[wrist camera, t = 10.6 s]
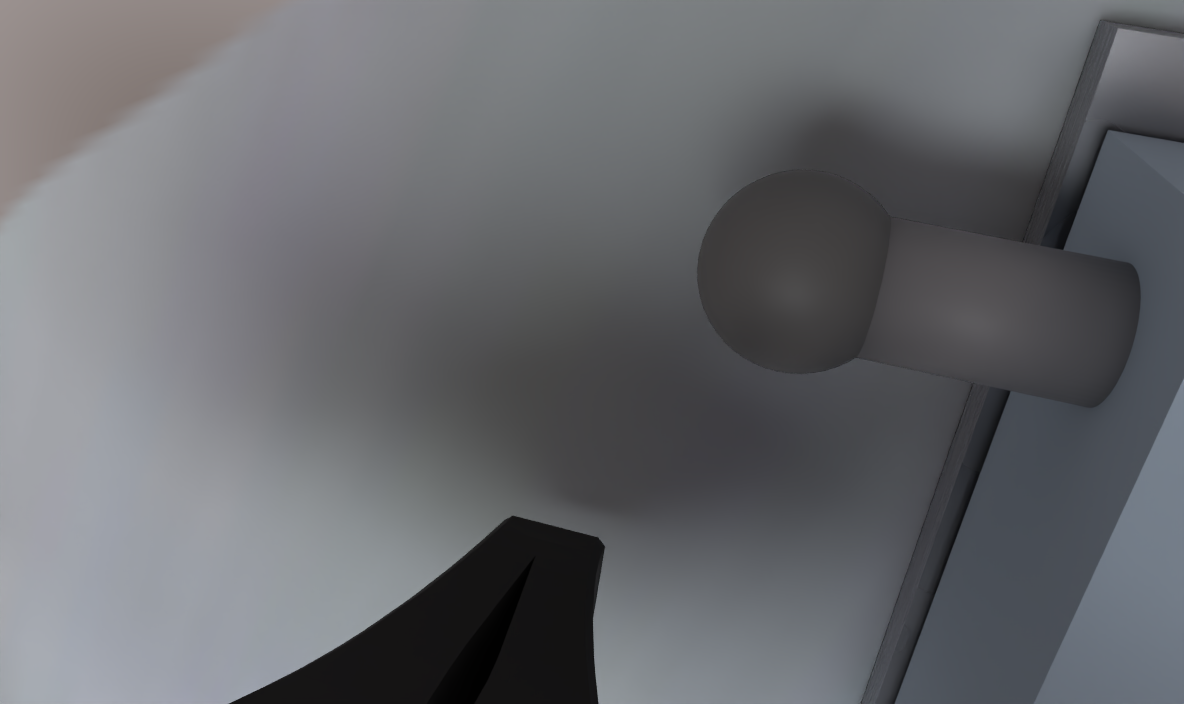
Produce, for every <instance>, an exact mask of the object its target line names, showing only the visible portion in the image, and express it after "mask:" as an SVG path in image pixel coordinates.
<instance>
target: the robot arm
mask: <svg viewBox="0 0 1184 704" xmlns="http://www.w3.org/2000/svg"><path fill="white" fill-rule="evenodd" d="M604 549H605V546H604V545H603V543H602V542H601V540H600V539H599V538H598V537H594V536H590V535H586V534H583V533H579V532H575V531H571V530H567V529H563V528H559V527H555V526H551V525H547V524H543V523H539V522H535V521H532V520H528V519H524V518H520V517H516V516H511V517H510V518H508V519H506V520H504V521H503V522H502V523H501V524H500V525H499V526H498V527H496V528H495V529H494V530H493V531H492V532H491V533H490V534H489V535H488V536H486V537H485V538H484V539H483V540H482V541H481V542H480V543H479V544H477V545H476V546H475V547H474V548H473V549H472V550H470V551H469V552H468V553H467V554H466V555H465V556H463V557H462V558H461V559H460V560H459V561H457V562H456V563H455V564H454V565H453V566H451V567H450V568H449V569H448V570H446V571H445V572H444V573H443V574H441V575H440V576H439V577H437V578H436V579H435V580H434V581H432V582H431V583H430V584H428V585H427V586H426V587H425V588H423V589H422V590H421V591H419V592H418V593H417V594H416V595H414V596H413V597H412V598H410V599H409V600H407V601H406V602H405V603H403V604H402V605H400V606H399V607H397V608H396V609H395V610H393V611H392V612H390V613H389V614H387V615H386V616H384V617H383V618H382V619H380V620H379V621H377V622H376V623H374V624H373V625H371V626H370V627H368V628H367V629H366V630H364V631H363V632H361V633H359V634H358V635H356V636H355V637H353V638H352V639H350V640H348V641H347V642H345V643H344V644H342V645H340V646H339V647H337V648H335V649H334V650H332V651H330V652H329V653H327V654H325V655H323V656H322V657H320V658H318V659H316V660H315V661H313V662H311V663H309V664H308V665H306V666H304V667H302V668H300V669H299V670H297V671H295V672H293V673H291V674H289V675H287V676H285V677H283V678H281V679H279V680H277V681H275V682H273V683H271V684H269V685H267V686H265V687H263V688H261V689H259V690H257V691H255V692H253V693H250V694H248V695H246V696H244V697H242V698H240V699H238V700H236V701H234V702H231V703H229V704H598V695H597V686H596V677H595V664H594V642H593V615H594V609H595V603H596V597H597V591H598V585H599V579H600V573H601V567H602V561H603V555H604Z"/></svg>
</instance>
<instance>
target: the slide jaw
mask: <svg viewBox="0 0 1184 704" xmlns="http://www.w3.org/2000/svg"><path fill="white" fill-rule="evenodd" d="M697 280H698V287H699V294H700V298H701V302H702V305H703V308H704V311H705V313H706V315H707V317H708V319H709V321H710V323H711V324H712V326H713V328H714V329H715V331H716V332H717V333H718V335H719V336H720V337H721V338H722V339H723V341H724V342H725V343H726V344H727V345H728V346H729V347H730V348H731V349H733V350H734V351H735V352H736V353H738V354H739V355H741V356H742V357H743V358H745V359H747V360H749V361H751V362H752V363H754V364H757V365H759V366H762V367H764V368H767V369H771V370H774V371H779V372H785V373H797V374H804V373H815V372H820V371H826V370H829V369H832V368H835V367H838V366H840V365H843V364H845V363H847V362H849V361H851V360H852V359H854V358H861V359H865V360H870V361H875V362H879V363H884V364H888V365H893V366H898V367H902V368H907V369H912V370H916V371H921V372H925V373H930V374H935V375H939V376H944V377H949V378H953V379H958V380H963V381H967V382H972V383H976V384H981V385H986V386H990V387H995V388H1000V389H1004V390H1009V391H1011V392H1010V395H1009V397H1008V400H1007V403H1006V405H1005V408H1004V411H1003V413H1002V416H1001V419H1000V422H999V424H998V427H997V430H996V432H995V435H994V438H993V440H992V443H991V446H990V448H989V451H988V454H987V457H986V459H985V462H984V465H983V467H982V470H981V473H980V475H979V478H978V481H977V483H976V486H975V489H974V492H973V494H972V497H971V500H970V502H969V505H968V508H967V510H966V513H965V516H964V518H963V521H962V524H961V526H960V529H959V532H958V535H957V537H956V540H955V543H954V545H953V548H952V551H951V553H950V556H949V559H948V561H947V564H946V567H945V570H944V572H943V575H942V578H941V580H940V583H939V586H938V588H937V591H936V594H935V596H934V599H933V602H932V605H931V607H930V610H929V613H928V615H927V618H926V621H925V623H924V626H923V629H922V631H921V634H920V637H919V639H918V642H917V645H916V648H915V650H914V653H913V656H912V658H911V661H910V664H909V666H908V669H907V672H906V674H905V677H904V680H903V683H902V685H901V688H900V691H899V693H898V696H897V699H896V701H895V704H1184V143H1181V142H1175V141H1169V140H1163V139H1158V138H1152V137H1146V136H1140V135H1134V134H1129V133H1123V132H1117V131H1111V130H1108V131H1107V134H1106V136H1105V139H1104V142H1103V144H1102V147H1101V150H1100V152H1099V155H1098V158H1097V161H1096V163H1095V166H1094V169H1093V171H1092V174H1091V177H1090V179H1089V182H1088V185H1087V187H1086V190H1085V193H1084V196H1083V198H1082V201H1081V204H1080V206H1079V209H1078V212H1077V214H1076V217H1075V220H1074V222H1073V225H1072V228H1071V231H1070V233H1069V236H1068V239H1067V241H1066V244H1065V247H1064V249H1063V250H1060V249H1055V248H1050V247H1045V246H1040V245H1034V244H1029V243H1024V242H1019V241H1014V240H1008V239H1003V238H998V237H993V236H988V235H982V234H977V233H972V232H967V231H962V230H957V229H951V228H946V227H941V226H936V225H931V224H925V223H920V222H915V221H910V220H905V219H899V218H894V217H890V216H889V215H888V213H887V212H886V211H885V209H884V208H883V207H882V205H881V204H880V203H879V202H878V201H877V200H876V199H875V198H874V197H873V196H872V195H870V194H869V193H868V192H866V191H865V190H864V189H862V188H861V187H860V186H858V185H856V184H854V183H853V182H851V181H849V180H847V179H845V178H842V177H840V176H837V175H834V174H830V173H826V172H823V171H814V170H792V171H784V172H780V173H776V174H772V175H769V176H766V177H764V178H762V179H759V180H757V181H755V182H753V183H751V184H749V185H748V186H746V187H744V188H743V189H741V190H740V191H739V192H737V193H736V194H735V195H733V196H732V197H731V198H730V199H729V200H728V201H727V202H726V203H725V204H724V205H723V207H722V208H721V209H720V211H719V212H718V213H717V214H716V216H715V217H714V219H713V221H712V222H711V224H710V226H709V227H708V229H707V232H706V234H705V236H704V239H703V242H702V245H701V249H700V253H699V259H698V267H697Z"/></svg>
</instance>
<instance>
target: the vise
mask: <svg viewBox="0 0 1184 704" xmlns="http://www.w3.org/2000/svg"><path fill="white" fill-rule="evenodd" d="M1108 130H1111V131H1117V132H1123V133H1129V134H1134V135H1140V136H1146V137H1152V138H1158V139H1163V140H1169V141H1175V142H1181V143H1184V33H1178V32H1172V31H1165V30H1159V29H1153V28H1146V27H1140V26H1133V25H1127V24H1121V23H1114V22H1108V21H1102V20H1100V23H1099V26H1098V29H1097V32H1096V35H1095V37H1094V40H1093V43H1092V46H1091V49H1090V52H1089V54H1088V57H1087V60H1086V63H1085V66H1084V69H1083V72H1082V74H1081V77H1080V80H1079V83H1078V86H1077V89H1076V92H1075V94H1074V97H1073V100H1072V103H1071V106H1070V109H1069V112H1068V114H1067V117H1066V120H1065V123H1064V126H1063V129H1062V132H1061V134H1060V137H1059V140H1058V143H1057V146H1056V149H1055V152H1054V154H1053V157H1052V160H1051V163H1050V166H1049V169H1048V172H1047V174H1046V177H1045V180H1044V183H1043V186H1042V189H1041V192H1040V194H1039V197H1038V200H1037V203H1036V206H1035V209H1034V212H1033V214H1032V217H1031V220H1030V223H1029V226H1028V229H1027V232H1026V234H1025V237H1024V240H1023V242H1024V243H1029V244H1034V245H1040V246H1045V247H1050V248H1055V249H1060V250H1063V249H1064V247H1065V244H1066V241H1067V239H1068V236H1069V233H1070V231H1071V228H1072V225H1073V222H1074V220H1075V217H1076V214H1077V212H1078V209H1079V206H1080V204H1081V201H1082V198H1083V196H1084V193H1085V190H1086V187H1087V185H1088V182H1089V179H1090V177H1091V174H1092V171H1093V169H1094V166H1095V163H1096V161H1097V158H1098V155H1099V152H1100V150H1101V147H1102V144H1103V142H1104V139H1105V136H1106V134H1107V131H1108ZM1010 392H1011V391H1009V390H1004V389H1000V388H995V387H990V386H986V385H981V384H976V383H973V386H972V389H971V391H970V394H969V397H968V400H967V403H966V406H965V409H964V411H963V414H962V417H961V420H960V423H959V426H958V429H957V431H956V434H955V437H954V440H953V443H952V446H951V449H950V451H949V454H948V457H947V460H946V463H945V466H944V469H943V471H942V474H941V477H940V480H939V483H938V486H937V489H936V491H935V494H934V497H933V500H932V503H931V506H930V509H929V511H928V514H927V517H926V520H925V523H924V526H923V529H922V531H921V534H920V537H919V540H918V543H917V546H916V549H915V551H914V554H913V557H912V560H911V563H910V566H909V569H908V571H907V574H906V577H905V580H904V583H903V586H902V589H901V591H900V594H899V597H898V600H897V603H896V606H895V608H894V611H893V614H892V617H891V620H890V623H889V626H888V628H887V631H886V634H885V637H884V640H883V643H882V646H881V648H880V651H879V654H878V657H877V660H876V663H875V666H874V668H873V671H872V674H871V677H870V680H869V683H868V686H867V688H866V691H865V694H864V697H863V700H862V703H861V704H895V701H896V699H897V696H898V693H899V691H900V688H901V685H902V683H903V680H904V677H905V674H906V672H907V669H908V666H909V664H910V661H911V658H912V656H913V653H914V650H915V648H916V645H917V642H918V639H919V637H920V634H921V631H922V629H923V626H924V623H925V621H926V618H927V615H928V613H929V610H930V607H931V605H932V602H933V599H934V596H935V594H936V591H937V588H938V586H939V583H940V580H941V578H942V575H943V572H944V570H945V567H946V564H947V561H948V559H949V556H950V553H951V551H952V548H953V545H954V543H955V540H956V537H957V535H958V532H959V529H960V526H961V524H962V521H963V518H964V516H965V513H966V510H967V508H968V505H969V502H970V500H971V497H972V494H973V492H974V489H975V486H976V483H977V481H978V478H979V475H980V473H981V470H982V467H983V465H984V462H985V459H986V457H987V454H988V451H989V448H990V446H991V443H992V440H993V438H994V435H995V432H996V430H997V427H998V424H999V422H1000V419H1001V416H1002V413H1003V411H1004V408H1005V405H1006V403H1007V400H1008V397H1009V395H1010Z"/></svg>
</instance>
